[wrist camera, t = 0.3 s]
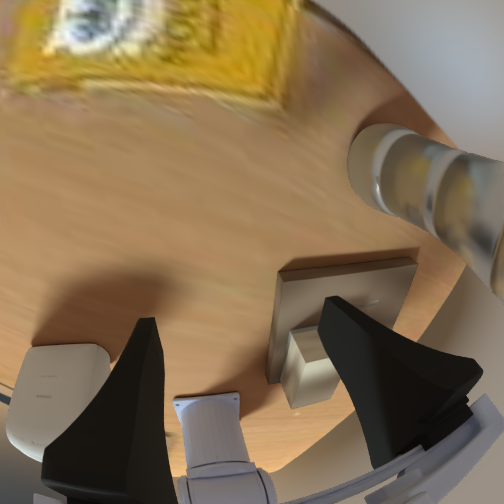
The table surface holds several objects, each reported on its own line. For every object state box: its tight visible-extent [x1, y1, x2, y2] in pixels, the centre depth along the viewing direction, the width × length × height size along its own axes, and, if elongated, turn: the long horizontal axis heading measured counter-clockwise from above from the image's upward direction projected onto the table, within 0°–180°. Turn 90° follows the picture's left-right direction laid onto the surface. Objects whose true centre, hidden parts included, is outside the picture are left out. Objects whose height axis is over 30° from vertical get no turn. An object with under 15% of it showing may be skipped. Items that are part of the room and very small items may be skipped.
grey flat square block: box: [265, 257, 418, 385], centre depth 27 cm, size 14×15×2 cm
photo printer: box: [6, 344, 111, 462], centre depth 17 cm, size 10×4×12 cm, turn 93°
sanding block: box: [280, 325, 340, 409], centre depth 25 cm, size 8×4×4 cm, turn 177°
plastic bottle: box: [347, 123, 504, 304], centre depth 11 cm, size 6×7×20 cm
